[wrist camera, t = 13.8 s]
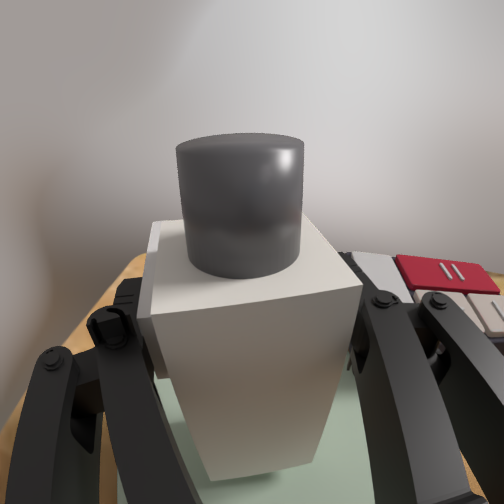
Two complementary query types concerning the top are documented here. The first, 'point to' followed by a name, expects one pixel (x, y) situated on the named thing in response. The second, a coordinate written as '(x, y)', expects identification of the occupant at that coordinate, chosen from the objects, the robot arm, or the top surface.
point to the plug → (250, 306)
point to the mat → (292, 479)
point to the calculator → (439, 287)
